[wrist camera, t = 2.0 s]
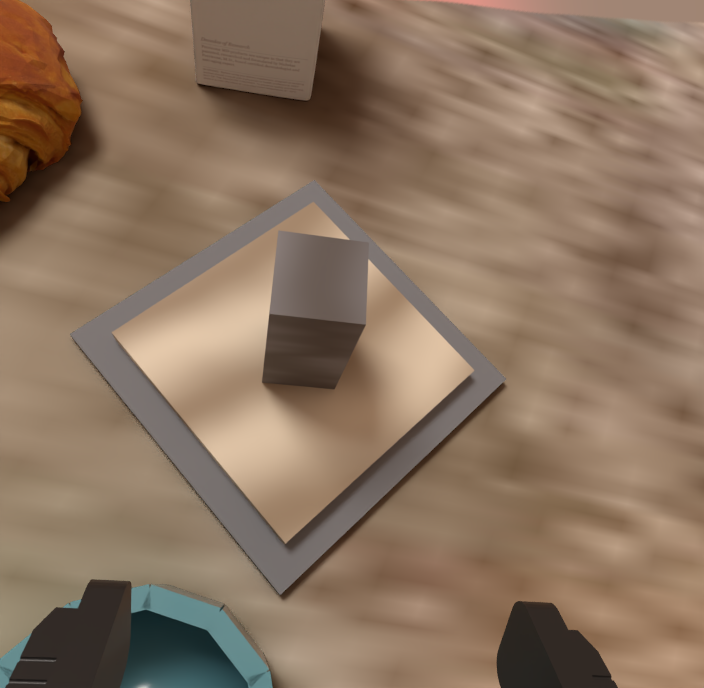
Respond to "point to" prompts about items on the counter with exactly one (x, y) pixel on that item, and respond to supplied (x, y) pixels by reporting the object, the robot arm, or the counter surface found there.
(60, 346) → the counter surface
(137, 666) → the bowl
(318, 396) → the lid
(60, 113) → the croissant
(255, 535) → the mat
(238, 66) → the supplement box
